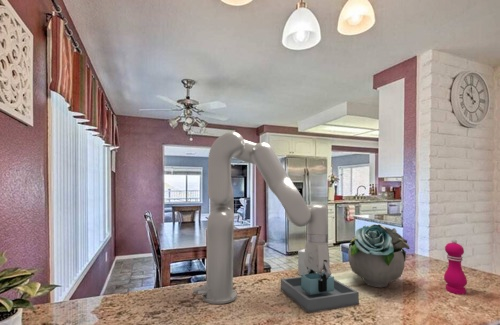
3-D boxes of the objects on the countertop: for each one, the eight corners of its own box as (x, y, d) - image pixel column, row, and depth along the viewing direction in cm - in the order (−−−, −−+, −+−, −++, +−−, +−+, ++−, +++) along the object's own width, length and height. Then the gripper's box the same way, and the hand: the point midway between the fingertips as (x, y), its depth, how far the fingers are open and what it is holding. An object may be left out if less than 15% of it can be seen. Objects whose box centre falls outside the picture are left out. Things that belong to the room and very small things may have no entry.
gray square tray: (308, 313, 89) (308, 300, 90) (280, 289, 108) (280, 279, 108) (358, 304, 96) (358, 292, 96) (324, 283, 115) (324, 273, 115)
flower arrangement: (425, 291, 108) (423, 227, 110) (376, 300, 99) (375, 231, 101) (375, 271, 131) (374, 218, 133) (331, 277, 122) (331, 221, 124)
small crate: (310, 294, 98) (310, 280, 98) (301, 288, 103) (301, 274, 104) (333, 291, 101) (333, 276, 102) (324, 285, 107) (324, 271, 107)
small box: (309, 277, 122) (309, 252, 123) (297, 274, 126) (297, 250, 126) (316, 272, 129) (316, 249, 129) (305, 270, 132) (305, 247, 133)
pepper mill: (445, 292, 107) (444, 239, 108) (443, 286, 113) (441, 236, 115) (469, 296, 104) (467, 241, 105) (465, 289, 110) (463, 238, 111)
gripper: (296, 234, 110) (296, 281, 109) (322, 243, 94) (322, 298, 93) (313, 233, 113) (313, 278, 112) (340, 242, 97) (341, 296, 96)
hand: (317, 287), depth 102 cm, fingers closed on small crate, 5 cm apart
